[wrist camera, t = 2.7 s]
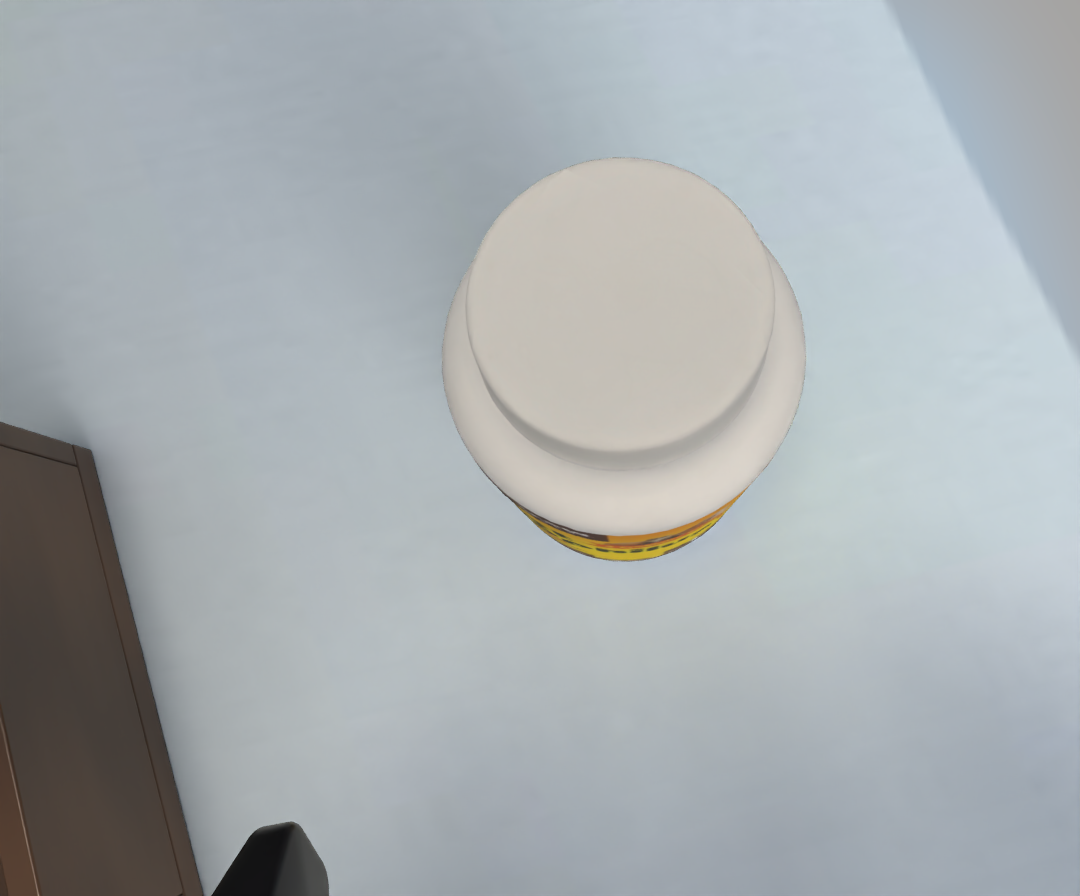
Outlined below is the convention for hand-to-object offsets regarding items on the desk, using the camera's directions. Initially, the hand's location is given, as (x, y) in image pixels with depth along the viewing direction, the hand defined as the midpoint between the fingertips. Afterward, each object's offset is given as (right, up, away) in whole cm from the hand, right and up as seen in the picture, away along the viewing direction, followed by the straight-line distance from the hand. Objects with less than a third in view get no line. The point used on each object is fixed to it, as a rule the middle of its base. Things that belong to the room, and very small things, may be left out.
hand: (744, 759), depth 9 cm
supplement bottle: (0, +3, +13) cm, 13 cm away
